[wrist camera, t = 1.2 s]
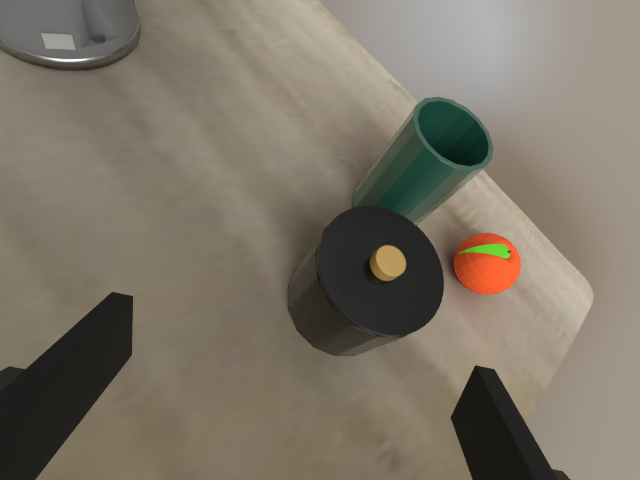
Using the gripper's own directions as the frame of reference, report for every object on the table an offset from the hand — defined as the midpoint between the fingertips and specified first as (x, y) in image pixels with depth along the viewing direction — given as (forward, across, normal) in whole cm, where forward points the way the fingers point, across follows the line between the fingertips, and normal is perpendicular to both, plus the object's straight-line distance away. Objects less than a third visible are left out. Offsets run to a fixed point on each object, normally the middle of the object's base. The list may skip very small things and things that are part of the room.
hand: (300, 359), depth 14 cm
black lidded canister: (+22, +4, -10) cm, 24 cm away
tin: (+32, +8, -2) cm, 33 cm away
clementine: (+29, +19, -7) cm, 35 cm away
